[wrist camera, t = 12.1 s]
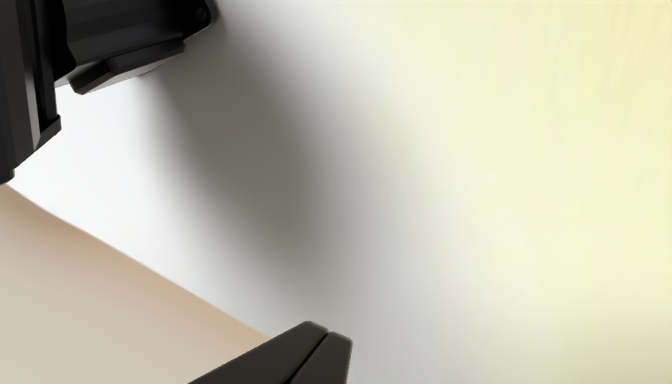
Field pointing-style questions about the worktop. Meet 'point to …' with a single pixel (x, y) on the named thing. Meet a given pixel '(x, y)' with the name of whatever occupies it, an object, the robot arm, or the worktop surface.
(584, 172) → the worktop surface
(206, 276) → the worktop surface
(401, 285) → the worktop surface
